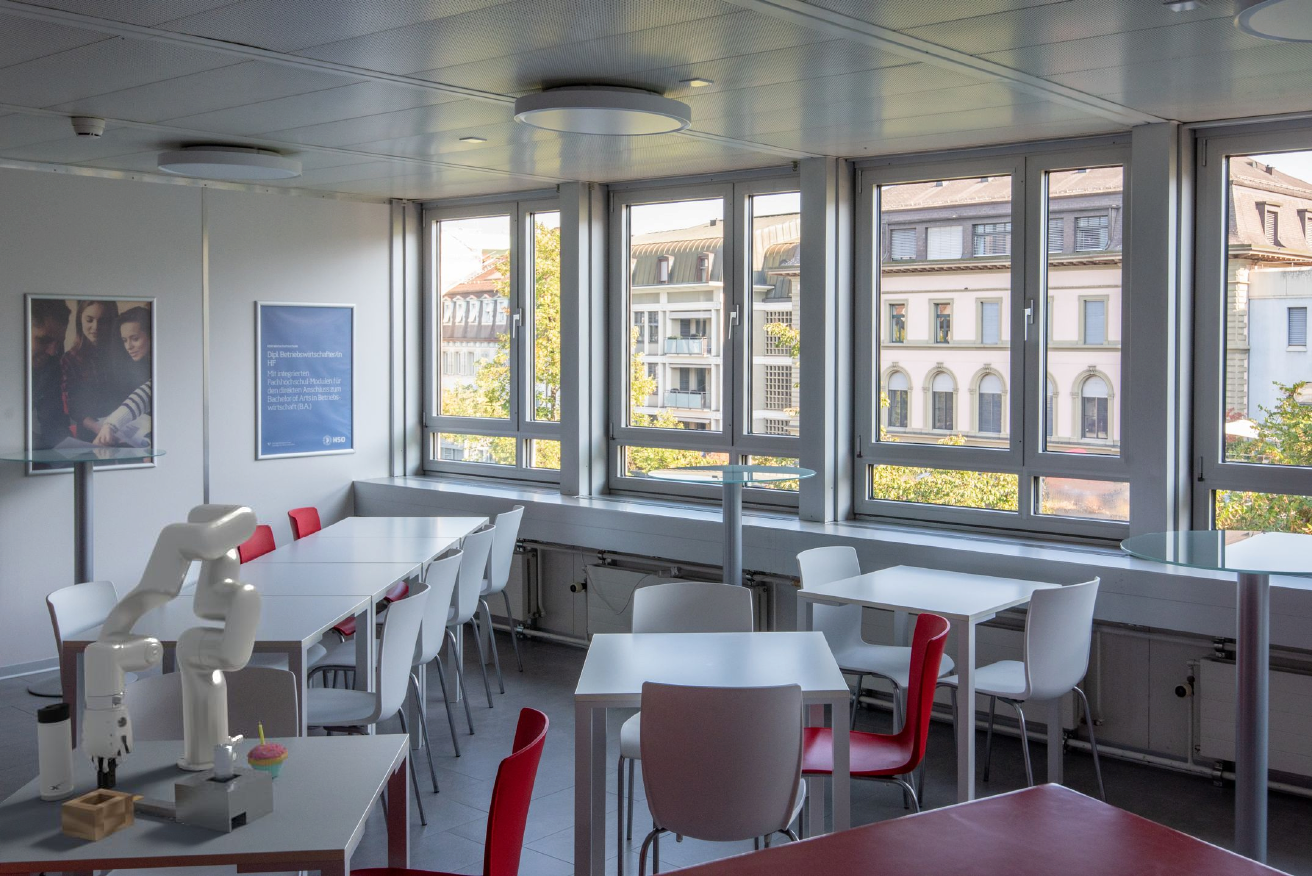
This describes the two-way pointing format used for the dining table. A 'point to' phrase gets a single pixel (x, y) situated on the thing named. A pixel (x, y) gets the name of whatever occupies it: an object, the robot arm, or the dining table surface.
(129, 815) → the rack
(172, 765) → the dining table surface
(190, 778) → the socket block
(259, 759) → the cupcake
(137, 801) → the bar
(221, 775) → the peg
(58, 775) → the travel mug
